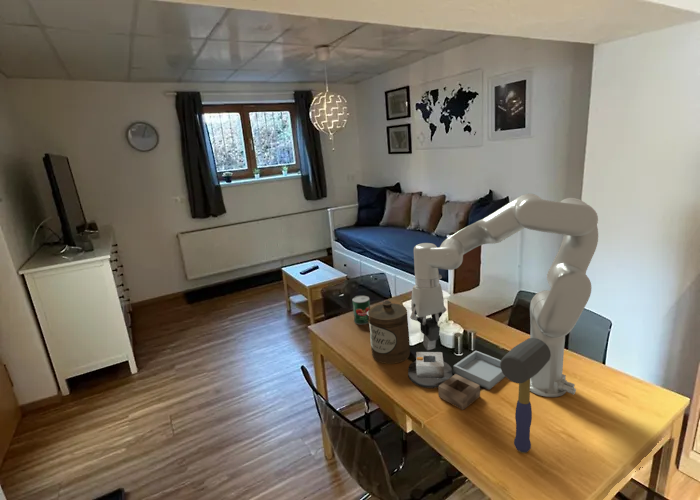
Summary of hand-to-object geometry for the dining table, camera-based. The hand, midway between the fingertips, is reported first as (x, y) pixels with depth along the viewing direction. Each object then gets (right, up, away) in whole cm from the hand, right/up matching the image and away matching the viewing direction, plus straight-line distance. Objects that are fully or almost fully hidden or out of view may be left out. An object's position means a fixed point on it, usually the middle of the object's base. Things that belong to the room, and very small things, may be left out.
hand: (429, 332), depth 130 cm
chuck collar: (+1, -14, +4) cm, 14 cm away
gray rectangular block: (0, -5, +2) cm, 6 cm away
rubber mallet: (+18, -24, -30) cm, 43 cm away
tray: (+19, -15, +3) cm, 24 cm away
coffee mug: (-14, -8, +38) cm, 41 cm away
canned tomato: (-21, -6, +50) cm, 54 cm away
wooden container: (-11, -13, +20) cm, 26 cm away
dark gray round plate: (+1, -16, +4) cm, 17 cm away
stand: (+8, -19, -8) cm, 22 cm away
